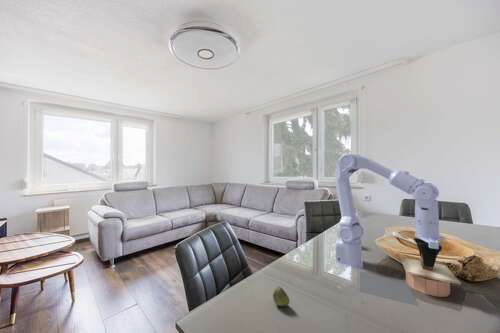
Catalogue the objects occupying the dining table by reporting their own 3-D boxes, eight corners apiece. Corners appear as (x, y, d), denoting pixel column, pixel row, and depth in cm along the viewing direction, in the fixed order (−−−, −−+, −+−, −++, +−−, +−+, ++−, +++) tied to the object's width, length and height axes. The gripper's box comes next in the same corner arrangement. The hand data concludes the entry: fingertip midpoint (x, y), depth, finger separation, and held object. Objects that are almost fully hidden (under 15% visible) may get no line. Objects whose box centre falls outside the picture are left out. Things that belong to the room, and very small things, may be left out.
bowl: (410, 292, 62) (409, 276, 62) (403, 277, 71) (403, 262, 71) (455, 302, 57) (455, 284, 57) (442, 284, 66) (441, 269, 66)
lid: (406, 273, 62) (407, 258, 62) (400, 258, 73) (400, 245, 73) (460, 284, 56) (461, 268, 56) (445, 267, 67) (445, 253, 67)
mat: (359, 292, 62) (359, 291, 62) (359, 272, 74) (359, 271, 74) (417, 307, 55) (417, 305, 55) (407, 282, 67) (407, 281, 67)
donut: (354, 247, 99) (354, 226, 99) (349, 248, 98) (348, 227, 98) (340, 240, 108) (340, 222, 108) (335, 241, 107) (334, 222, 108)
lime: (274, 298, 59) (274, 281, 59) (291, 302, 57) (291, 284, 57) (270, 308, 55) (270, 289, 55) (288, 312, 53) (288, 293, 53)
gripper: (452, 228, 56) (453, 278, 56) (435, 218, 69) (436, 258, 69) (420, 225, 60) (421, 271, 59) (409, 215, 73) (410, 254, 72)
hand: (427, 264), depth 64 cm, fingers closed on lid, 2 cm apart
